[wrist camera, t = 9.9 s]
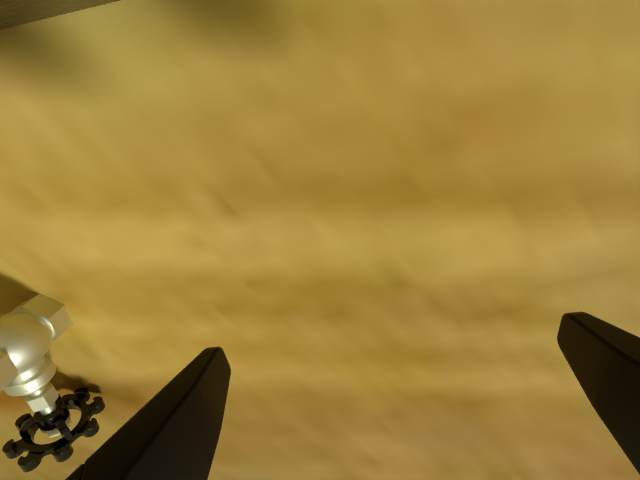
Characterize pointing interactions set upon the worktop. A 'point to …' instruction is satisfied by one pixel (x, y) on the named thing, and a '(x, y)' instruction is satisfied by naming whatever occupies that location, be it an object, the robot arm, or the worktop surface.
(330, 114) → the worktop surface
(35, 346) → the valve
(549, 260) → the worktop surface
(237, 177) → the worktop surface
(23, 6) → the square hole board
